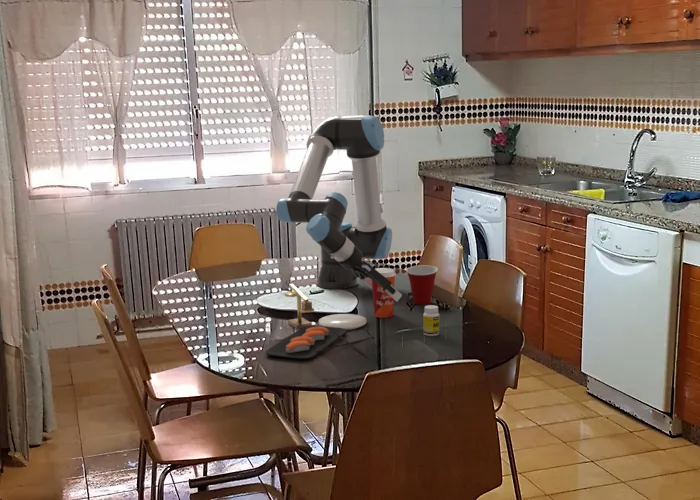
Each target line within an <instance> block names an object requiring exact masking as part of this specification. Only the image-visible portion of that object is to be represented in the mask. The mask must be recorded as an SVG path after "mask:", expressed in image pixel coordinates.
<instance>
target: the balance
mask: <svg viewBox="0 0 700 500" xmlns="http://www.w3.org/2000/svg"><path fill="white" fill-rule="evenodd" d="M289 287H290V291H288V292H285V293H284V297H287V298H288V297H289V298H292V297H293V298H294V297H295V298H296V304H297V305H296V306H297V307H296V308H297V317H296V318H293V319H291V318H290V319H288V320H287V324H288V325H290V326H291V327H293V328H294V329H297V330H299V329H301V328H303V327H305V326H313V324H312V322H311V321H309V320H308V319H306V318H305V317H302V314H312V313H313V312H315V308H313V302H312V301H311V300H309V299H308V297H307V296H306V295H304V294H303V292H301V290H299V288H298V287H296V285H295V284H294V283H289Z"/></svg>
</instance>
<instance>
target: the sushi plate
mask: <svg viewBox="0 0 700 500" xmlns="http://www.w3.org/2000/svg"><path fill="white" fill-rule="evenodd" d="M347 332H348V330H346V329H343V328H336V327H326V326H320V325H312V326H305V327H303V328H301V329H297V330H296V331H294V332H293V333H291V334H290V335H288V336H287V337H285V338H283V339H282V340H280V341H279V342H278V343H275V344H274V345H273V346H271V347H270V348H268V349H267V350H266V351H265V355H267V356H271V357H276V358H278V357H280V358H288V359H294V360H295V359H296V360H308V359H311V358H313V357H315V356H317V355H318V354H320V353H321V352H322V351H323V352H324V351H327V350H331V349H335V348H336V349H337V348H340V347H343V346H348V345H349V346H351V347H352V348H353V349H354V350H355V351H357V352H358V353H359V354H360V355H362V356H363V357H364V358H367V359H368V360H370V361H374V359H373V358H371V357H370V356H369V355H367V354H366V353H365V352H363V351H362V350H361V349H359V348H358V347H356V346H355V345H354V344H357V343H361V342H364V341H366V340H369V339H373V336H369V337H366V338H362V339H358V340H357V339H356V340H353V341H350V342H349V341H348V340H347V339H345V338H344V337H343V336H344V335H345V334H346V333H347ZM339 339H341V340H343V341H344V342H345V343H341V344H337V345H334V346H331V345H332V344H333V343H335V342H336V341H337V340H339ZM329 346H331V347H329Z"/></svg>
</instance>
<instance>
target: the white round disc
mask: <svg viewBox="0 0 700 500" xmlns="http://www.w3.org/2000/svg"><path fill="white" fill-rule="evenodd" d="M367 322H368V321H367V318H366V317H364V316H362V315H359V314H354V313H337V314H330V315H326V316H323V317H321V318H319V319H318V326H326V327H336V328H343V329H346V330H347V331H349V330H350V331H351V330H357V329H359V328H361V327H363V326H365V325H366V324H367Z"/></svg>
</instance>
